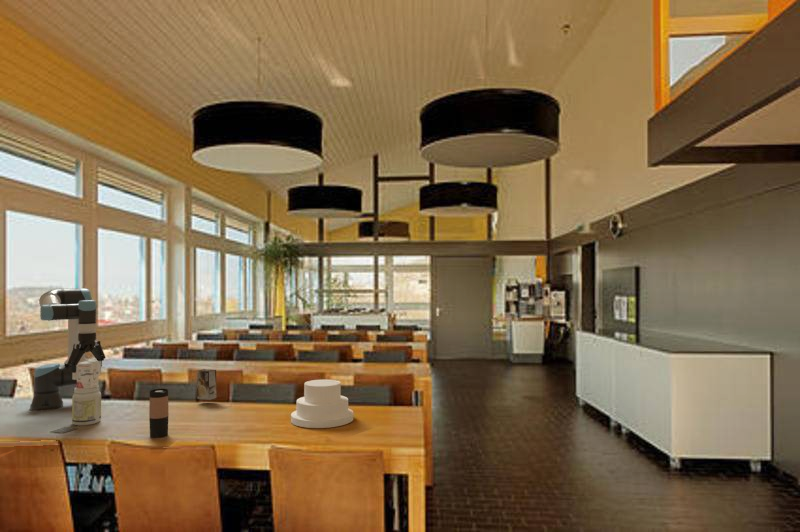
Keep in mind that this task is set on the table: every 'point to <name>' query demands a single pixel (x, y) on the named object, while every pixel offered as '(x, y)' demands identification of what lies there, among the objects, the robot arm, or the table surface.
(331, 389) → the cake
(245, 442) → the table surface
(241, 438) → the table surface
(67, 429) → the charcoal rubber mat
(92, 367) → the ink box
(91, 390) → the supplement tub
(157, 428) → the travel mug
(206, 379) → the coffee box
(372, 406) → the table surface
